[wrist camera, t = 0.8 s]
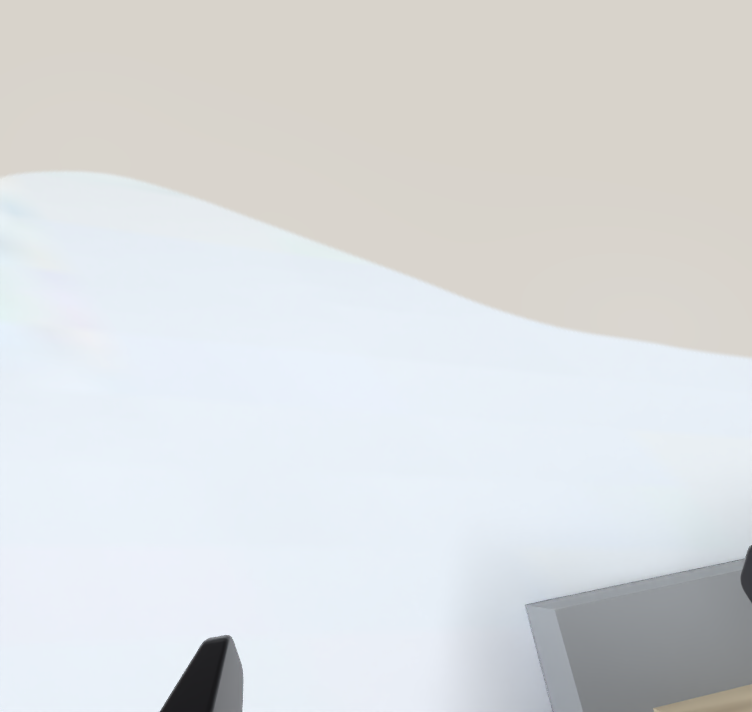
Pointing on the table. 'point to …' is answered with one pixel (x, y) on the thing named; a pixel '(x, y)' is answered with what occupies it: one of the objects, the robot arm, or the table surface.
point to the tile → (715, 702)
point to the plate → (646, 641)
